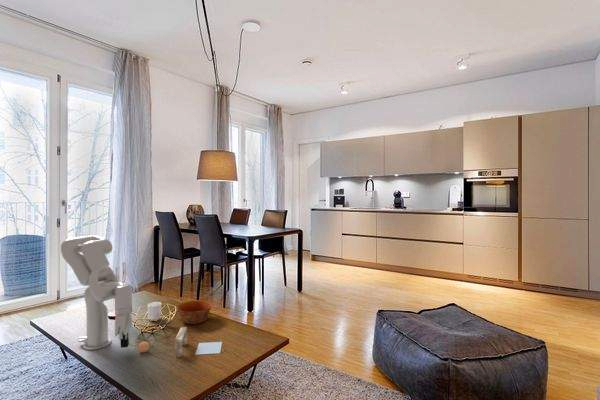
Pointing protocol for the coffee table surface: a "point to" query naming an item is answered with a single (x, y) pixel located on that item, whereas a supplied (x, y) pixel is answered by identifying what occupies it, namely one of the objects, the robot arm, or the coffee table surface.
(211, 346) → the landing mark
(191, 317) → the bowl
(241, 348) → the coffee table surface
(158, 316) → the white cup
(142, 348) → the ball
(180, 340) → the bridge
